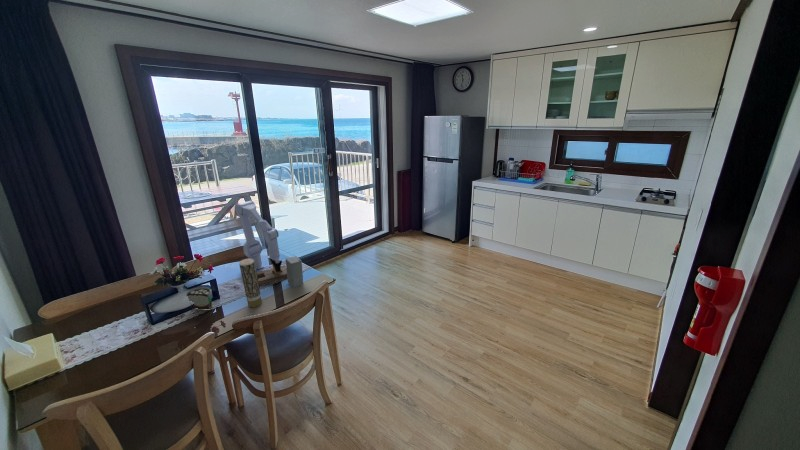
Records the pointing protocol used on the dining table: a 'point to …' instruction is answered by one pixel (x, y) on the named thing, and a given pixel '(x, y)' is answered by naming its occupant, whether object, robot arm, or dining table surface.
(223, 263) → the dining table surface
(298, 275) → the skincare box
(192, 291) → the food container
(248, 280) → the paper tube
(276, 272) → the pin
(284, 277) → the bore board
